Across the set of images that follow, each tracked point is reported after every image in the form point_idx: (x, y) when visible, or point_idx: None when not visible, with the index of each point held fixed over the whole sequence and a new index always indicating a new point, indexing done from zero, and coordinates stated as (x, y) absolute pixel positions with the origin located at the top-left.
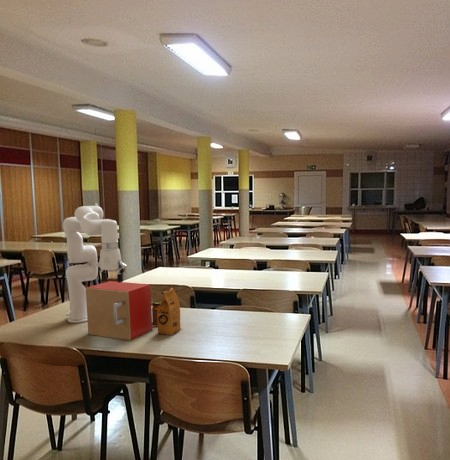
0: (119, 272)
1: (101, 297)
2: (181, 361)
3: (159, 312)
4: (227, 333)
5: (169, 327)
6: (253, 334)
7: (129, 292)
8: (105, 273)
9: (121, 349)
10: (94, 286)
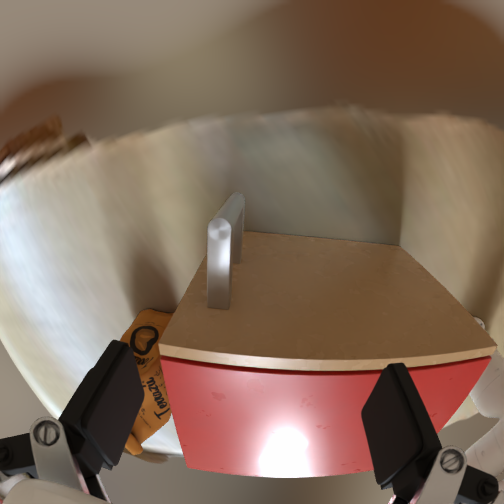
0: (43, 441)
1: (391, 323)
2: (24, 142)
3: (151, 359)
4: (57, 338)
5: (134, 322)
6: (29, 337)
7: (162, 356)
8: (385, 471)
9: (192, 139)
10: (461, 388)
